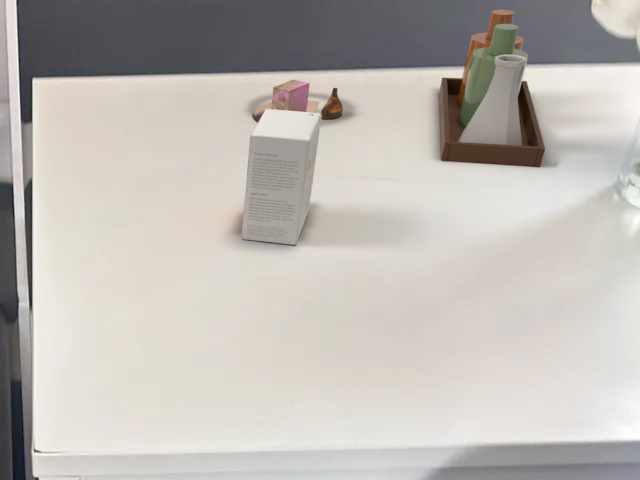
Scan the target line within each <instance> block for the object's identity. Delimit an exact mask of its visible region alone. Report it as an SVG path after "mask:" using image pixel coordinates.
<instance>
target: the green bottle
mask: <svg viewBox="0 0 640 480" xmlns="http://www.w3.org/2000/svg"><path fill="white" fill-rule="evenodd" d="M519 29H520V26H518V25H516V24H513V23H512V24H498V25H495V27H494V31H493V36H492V40H491V45H490V47H486V48H480V49H477V50H475V51H474V52H473V55H472V59H471V64H470V68H469V73H468V78H467V82H466V87H465V91H464V96H463V100H462V105H461V109H460V114H459V119H458V122H459V123H460V124H461V125H463V126H465V127H467V125H468V123H469V122H470V120H471V119H472V117H473V115H474V114H475V112H476V110H477V109H478V107H479V105H480V103H481V102H482V100H483V98H484V96H485V95H486V93H487V91H488V89H489V86H490V84H491V81H492V79H493V76H494V73H495V69H496V65H495V57H496V56H499V55H503V54H508V55H518V56H522V57H526V63H525V65H524V66H522V68H521V71H520V75H519V79H518V92H517V97H518V95H519V91H520V87H521V83H522V81H523V79H524V74H525V71H526V67H527V63H528V58H529V53H527V52H526V51H524V50H522V49H521V50H518V49H514V47H515V42H516V38H517V36H518V34H519Z"/></svg>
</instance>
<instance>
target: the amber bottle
mask: <svg viewBox="0 0 640 480" xmlns="http://www.w3.org/2000/svg"><path fill="white" fill-rule="evenodd" d="M515 14H516V12H515V11H514V10H510V9H494V10H491V12H490V18H489V22H488V26H487V29H486V30H487V31H486V32H478V33H475V34H473V35H471V36H470V38H469V39H470V40H469V44H468V50H467V54H466V59H465V62H464V68H463V72H462V76H461V78H462V81H461V86H460V90H459V95H458V99H457V105H458V106H460V107H461V105H462V100H463V96H464V91H465V87H466V82H467V78H468V73H469V68H470V64H471V59H472V55H473V52H474V51H475V50H477V49H480V48H486V47H490V45H491V40H492V36H493V31H494V27H495V25H498V24H513V23H514V18H515ZM524 40H525V39H524V37H522V36H520V35H517V38H516V42H515V47H514V49H518V50H521V51H522V48H523V46H524Z"/></svg>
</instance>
